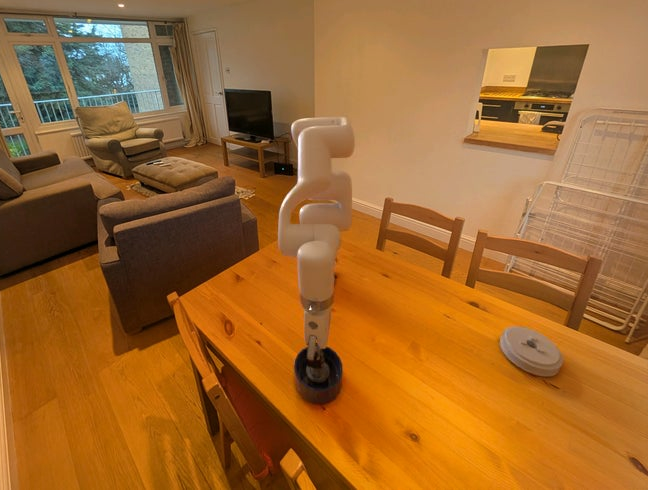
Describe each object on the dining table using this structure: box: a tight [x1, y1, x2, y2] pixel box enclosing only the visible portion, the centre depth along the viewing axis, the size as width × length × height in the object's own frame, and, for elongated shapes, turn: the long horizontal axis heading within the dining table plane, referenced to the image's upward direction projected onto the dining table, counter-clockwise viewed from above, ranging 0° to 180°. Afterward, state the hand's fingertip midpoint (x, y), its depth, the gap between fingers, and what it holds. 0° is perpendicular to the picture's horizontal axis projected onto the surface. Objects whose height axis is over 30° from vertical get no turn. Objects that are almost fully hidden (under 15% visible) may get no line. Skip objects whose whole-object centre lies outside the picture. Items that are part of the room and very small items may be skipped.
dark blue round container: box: [293, 345, 344, 406], centre depth 74 cm, size 12×12×6 cm
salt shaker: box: [306, 347, 330, 389], centre depth 73 cm, size 6×6×12 cm
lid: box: [499, 325, 564, 378], centre depth 77 cm, size 13×13×5 cm
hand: (317, 347), depth 71 cm, fingers open, 9 cm apart
